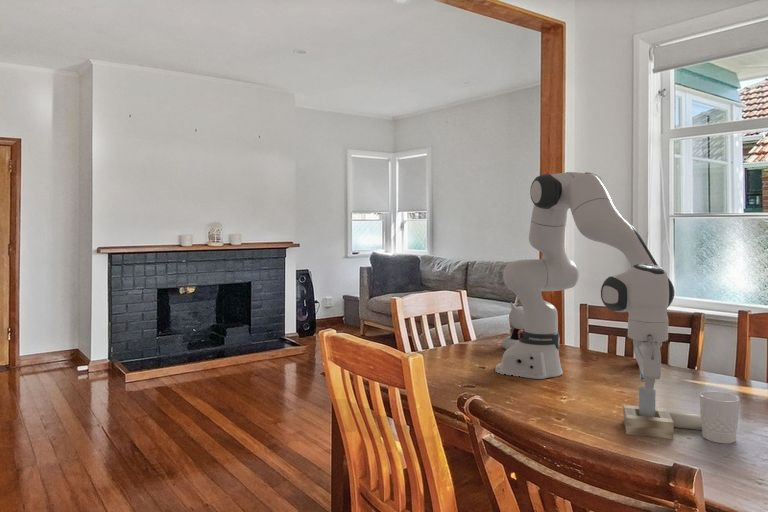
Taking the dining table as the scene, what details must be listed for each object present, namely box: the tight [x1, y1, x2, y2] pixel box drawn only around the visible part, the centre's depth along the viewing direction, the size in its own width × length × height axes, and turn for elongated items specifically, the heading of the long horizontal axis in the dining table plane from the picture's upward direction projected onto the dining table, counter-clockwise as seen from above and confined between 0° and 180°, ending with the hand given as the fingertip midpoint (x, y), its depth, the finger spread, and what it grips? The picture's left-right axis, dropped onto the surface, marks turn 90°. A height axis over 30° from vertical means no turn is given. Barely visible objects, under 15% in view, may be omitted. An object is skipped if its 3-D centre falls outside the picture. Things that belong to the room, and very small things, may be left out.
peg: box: [638, 386, 657, 417], centre depth 131 cm, size 4×4×10 cm
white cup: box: [699, 390, 740, 444], centre depth 125 cm, size 8×8×10 cm
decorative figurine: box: [501, 301, 524, 351], centre depth 218 cm, size 15×15×20 cm
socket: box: [622, 404, 675, 440], centre depth 131 cm, size 10×10×4 cm
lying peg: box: [668, 411, 702, 431], centre depth 132 cm, size 10×4×4 cm
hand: (646, 386), depth 131 cm, fingers open, 8 cm apart
